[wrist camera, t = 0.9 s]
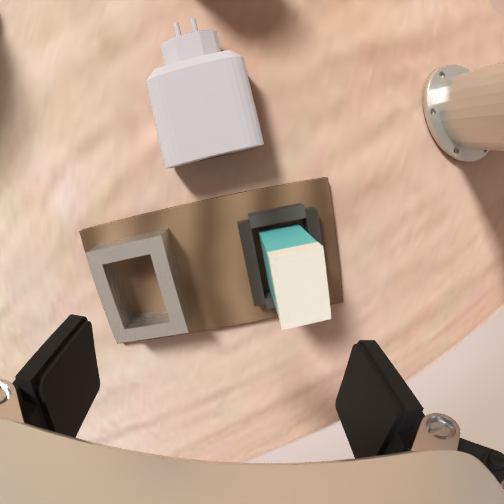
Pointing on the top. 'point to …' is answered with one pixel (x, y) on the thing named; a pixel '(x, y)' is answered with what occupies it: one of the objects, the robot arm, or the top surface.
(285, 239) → the plug
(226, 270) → the brown socket board
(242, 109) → the charger
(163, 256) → the frame
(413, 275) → the top surface
